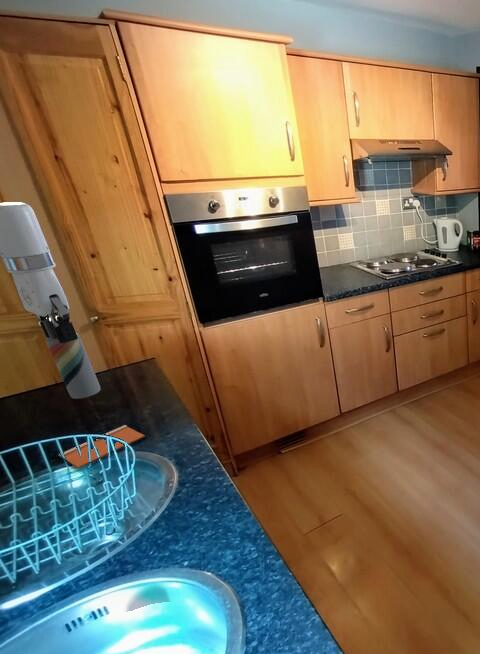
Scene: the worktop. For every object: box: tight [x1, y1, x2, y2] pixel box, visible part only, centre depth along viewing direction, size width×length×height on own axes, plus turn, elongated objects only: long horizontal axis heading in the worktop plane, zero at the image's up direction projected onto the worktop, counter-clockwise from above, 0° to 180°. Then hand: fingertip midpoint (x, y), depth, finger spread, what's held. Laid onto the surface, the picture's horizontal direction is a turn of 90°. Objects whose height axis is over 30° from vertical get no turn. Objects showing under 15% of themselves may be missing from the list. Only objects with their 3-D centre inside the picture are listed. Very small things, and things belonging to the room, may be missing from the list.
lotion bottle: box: [42, 315, 101, 400], centre depth 107 cm, size 6×6×20 cm
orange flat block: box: [58, 424, 146, 469], centre depth 114 cm, size 14×10×1 cm
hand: (62, 337), depth 105 cm, fingers closed on lotion bottle, 5 cm apart
